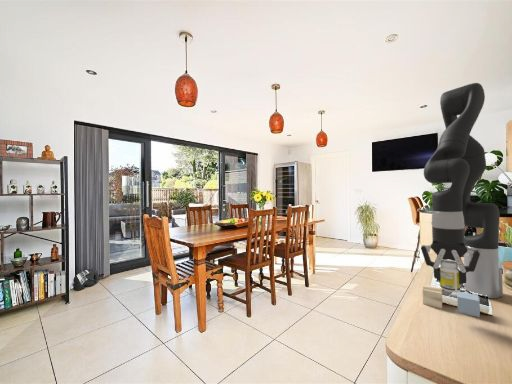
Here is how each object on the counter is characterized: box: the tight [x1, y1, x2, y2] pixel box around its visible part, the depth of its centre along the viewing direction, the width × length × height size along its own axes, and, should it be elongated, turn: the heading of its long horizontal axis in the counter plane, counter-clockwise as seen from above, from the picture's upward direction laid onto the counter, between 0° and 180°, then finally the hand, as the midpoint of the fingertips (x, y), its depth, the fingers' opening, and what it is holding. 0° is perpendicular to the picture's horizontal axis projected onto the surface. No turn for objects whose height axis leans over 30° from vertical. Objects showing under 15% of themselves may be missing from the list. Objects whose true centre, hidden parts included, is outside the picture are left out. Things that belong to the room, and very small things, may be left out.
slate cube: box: [456, 291, 481, 318], centre depth 73 cm, size 5×5×5 cm
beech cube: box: [422, 284, 443, 309], centre depth 79 cm, size 5×5×5 cm
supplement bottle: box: [439, 259, 461, 293], centre depth 70 cm, size 5×5×8 cm
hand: (449, 281), depth 70 cm, fingers closed on supplement bottle, 4 cm apart
